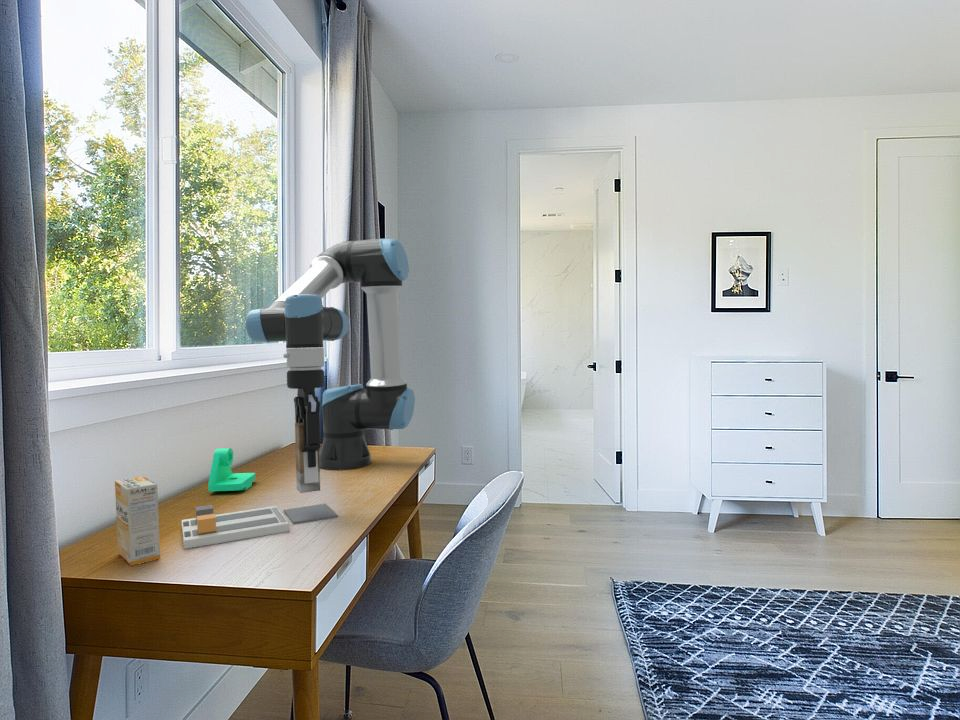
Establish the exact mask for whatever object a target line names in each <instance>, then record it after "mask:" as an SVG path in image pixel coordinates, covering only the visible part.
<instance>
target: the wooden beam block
mask: <svg viewBox="0 0 960 720" xmlns="http://www.w3.org/2000/svg"><path fill="white" fill-rule="evenodd" d="M294 430H295V433H294V435H295V436H294V437H295V438H294V439H295V440H294V441H295V468H296V469H295V470H296V472H295V474H296V475H295V476H296V491H298V493H300V494H304V493H314V492H319V491H321V468H320V458H319V454H320V449H318V451H317V453H318V482H314V483H306V484H305V483H304V458H303V452H301V450H302V449H304V448H305V446H304V431H303V423H296V422H294Z"/></svg>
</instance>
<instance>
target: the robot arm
mask: <svg viewBox="0 0 960 720" xmlns="http://www.w3.org/2000/svg"><path fill="white" fill-rule="evenodd" d="M408 260H409V259H408V257H407V254H406V250H405V249H404V246H403V244H402V243H401V242H400V241H399V240H397V239H395V238H374V239H362V240H361V239H360V240H346V241H342V242H339V243H336V244H334V245H332V246H331V247H329V248H327V249H326V250H324V251H322V252H321V253H320V254H319V255H317V256H316V257H314V258H313V260H312V261H311V263H310V264H309V269H308V270H306V271H305V272H304V273H303V274H302V275H301V276H300V277H299V278H298V279H297V280H296V281H295V282H294V283H292V285H290V287H288V288H287V289H286V290H285V291H284V292H283V293H282V294H281V295H280V296H278V298H277V299H276V300H274V301H273V302H272V303H271V304H270V305H269V306H267V308H261V307H260V308H259V309H258V308H257V309H252V310H249V312H248V314H247V315H246V318H245V324H244V325H245V330H246V333H247V336H248V337H249V338H250V339H251V340H252V341H254V342H261V343H263V342H264V343H265V342H266V343H271V342H272V343H274V342H285V346H286V347H285V348H286V351H285V353H283V358H285V359H286V367H287V368H289V370H287V372H286V387H287V388H288V389H291V390H297V394H296V395H297V396H295V397H294V398H293V403H294V413H295V414H294V416H295V417H294V418H295V422H294V423H303V431H304V446H305V448H304V449H302V450H301V452H303V458H304V483H305V484H306V483H314V482H318V453H317V451H318V449H319V458H320V469H323V470H332V471H333V470H336V471H337V470H351V469H359V468H362V467H366V466H369V465H370V464H372V458H371V457H372V456H371V452H370V450H369V447H368V444H367V441H366V438H365V430H390V431H393V430H403V429H405V428H407V427H408V426H409V425H410V423H411V421H412V419H413V416H414V412H415V411H414V410H415V405H416V404H415V401H416V397H415V392H414V391H413V389H412V388H410V387H408V386H407V385H408V382H407V380H406V379H405V378H404V377H403V376H402V368H401V367H402V365H401V363H402V362H401V344H400V341H401V340H400V325H399V323H400V321H399V302H398V301H399V300H398V293H399V291H400V290H401V289H403V282H404V281H405V280H407V279H408V278H409V270H410V267H409V261H408ZM347 283H360V288H361V290H362V291H363V292H364V293H365V295H366V306H367V325H368V326H367V327H368V341H369V342H368V345H369V346H368V347H369V360H370V361H369V362H370V363H369V364H370V378H369V380H368V381H367V383H365V388H364V386H363V384H362V383H360V384H351V385H343V386H339V387H332V388H327V389H325V390H324V391H323V394H322V404H321V402H320V401H319V397H318V396H316V389H318V388H319V389H320V388H323V387H324V386H325V371H324V369H322V368H323V367H324V366H325V348H324V341H326V342H334V341H338V340H340V339H342V338H343V337H344V336H346V334H347V332H348V331H349V326H350V322H349V318H348V316H347V315H346V313H345V312H344V311H342V310H341V309H339V308H336V307H333V306H330V307H329V306H324V305H323V300H322V299H323V298H324V297H325V296H326V295H327V294H328V293H329V291H331V290H333V289H336V288H338V287H339V286H340V285H341V284H347ZM321 407H322V428H323V442H322V445H321V434H320V433H321V431H320V429H321V428H320V426H321V425H320V423H321V421H320V408H321Z"/></svg>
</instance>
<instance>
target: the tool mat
mask: <svg viewBox="0 0 960 720" xmlns="http://www.w3.org/2000/svg"><path fill="white" fill-rule="evenodd" d="M283 513H284V515H286V516H287V518H288V519H289V521H290V522H291V524H292V525H297V524H302V523H309V522H315V521H321V520H327V519H333V518H338V517H339V515H338V514H337V513H336V511H334V510H333V509H332V508H331V507H330V506H329V505H328V504H327V503H319V504H312V505H307V506H301V507H300V506H299V507H295V508H288V509H283Z"/></svg>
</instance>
